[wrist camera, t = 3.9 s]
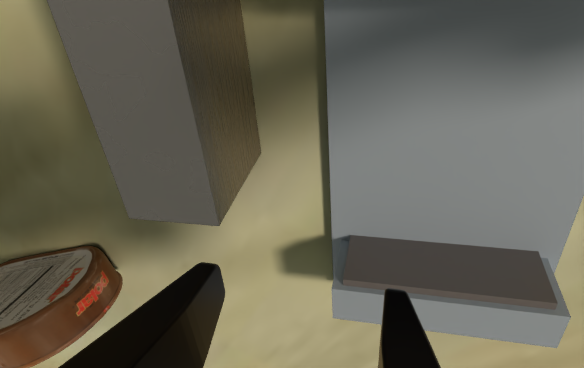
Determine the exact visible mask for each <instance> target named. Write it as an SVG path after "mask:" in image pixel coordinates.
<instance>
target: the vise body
mask: <svg viewBox="0 0 584 368" xmlns="http://www.w3.org/2000/svg"><path fill="white" fill-rule="evenodd" d="M324 17H325V47H326V76H327V106H328V135H329V165H330V194H331V224H332V253H333V285H332V308H333V318H336V319H344V320H351V321H359V322H366V323H374V324H381V325H382V314H383V303H384V292H385V289H387V288H392V289H400V290H405V291H406V292H407V293H408V295H409V297H410V300H411V302H412V304H413V306H414V309H415V311H416V313H417V315H418V318H419V320H420V322H421V324H422V327H423V329H424V330H426V331H433V332H441V333H448V334H456V335H463V336H470V337H478V338H485V339H493V340H500V341H508V342H515V343H523V344H530V345H538V346H545V347H552V348H557V347H558V345H559V342H560V340H561V338H562V336H563V333H564V331H565V329H566V327H567V325H568V322H569V320H570V318H571V316H570V314H569V311H568V309H567V306H566V304H565V301H564V299H563V296H562V293H561V291H560V288H559V286H558V283H557V281H556V278H555V276H554V272H555V270H556V267H557V264H558V262H559V259H560V256H561V254H562V251H563V249H564V246H565V243H566V241H567V238H568V235H569V233H570V230H571V227H572V225H573V222H574V220H575V217H576V214H577V212H578V209H579V206H580V204H581V201H582V198H583V196H584V0H324Z"/></svg>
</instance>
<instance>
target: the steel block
mask: <svg viewBox="0 0 584 368" xmlns="http://www.w3.org/2000/svg"><path fill="white" fill-rule="evenodd" d="M47 2H48V5H49V7H50V10H51V13H52V15H53V18H54V20H55V23H56V26H57V28H58V31H59V34H60V36H61V39H62V42H63V44H64V47H65V50H66V52H67V55H68V57H69V60H70V63H71V65H72V68H73V71H74V73H75V76H76V79H77V81H78V84H79V87H80V89H81V92H82V95H83V97H84V100H85V102H86V105H87V108H88V110H89V113H90V116H91V118H92V121H93V124H94V126H95V129H96V132H97V134H98V137H99V140H100V142H101V145H102V147H103V150H104V153H105V155H106V158H107V161H108V163H109V166H110V169H111V171H112V174H113V177H114V179H115V182H116V185H117V187H118V190H119V192H120V195H121V198H122V200H123V203H124V206H125V208H126V211H127V214H128V216H129V218H131V219H143V220H154V221H166V222H177V223H189V224H200V225H212V226H219V225H220V224H221V222H222V220H223V218H224V217H225V215H226V213H227V211H228V210H229V208H230V206H231V205H232V203H233V201H234V199H235V198H236V196H237V194H238V192H239V191H240V189H241V187H242V185H243V184H244V182H245V180H246V178H247V177H248V175H249V173H250V171H251V170H252V168H253V166H254V164H255V163H256V161H257V159H258V157H259V156H260V154H261V147H260V139H259V132H258V125H257V118H256V111H255V103H254V96H253V89H252V82H251V75H250V67H249V60H248V53H247V46H246V39H245V31H244V24H243V17H242V10H241V3H240V0H47Z"/></svg>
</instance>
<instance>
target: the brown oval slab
mask: <svg viewBox="0 0 584 368" xmlns="http://www.w3.org/2000/svg"><path fill="white" fill-rule="evenodd" d="M121 288H122V276H121V274H120V273H118V272H117V271H116V270H115V269H114V267H113V266H112V265H111V263H110V262H109V260H108V259H107V257H106V256H105V255H104V253H103V252H102V251H101V250H100V249H98V248H96V247H93V246H83V247H77V248H71V249H66V250H61V251H55V252H49V253H44V254H39V255H33V256H28V257H23V258H18V259H14V260H10V261H8V262H5V263H2V264H0V368H29V367H32V366H35V365H37V364H39V363H41V362H43V361H45V360H47V359H49V358H50V357H52V356H54V355H56V354H58V353H59V352H61V351H62V350H64V349H65V348H67V347H68V346H70V345H71V344H72V343H74V342H75V341H76V340H78V339H79V338H80V337H82V336H83V335H84V334H85V333H86V332H87V331H88V330H89V329H91V328H92V327H93V326H94V325H95V324H96V323H97V322H98V321H99V320H100V319H101V318H102V317H103V316H104V315H105V314H106V312H107V311H108V310H109V309H110V308H111V306H112V305H113V303H114V302H115V300H116V299H117V297H118V295H119V293H120V290H121Z"/></svg>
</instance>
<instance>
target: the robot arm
mask: <svg viewBox="0 0 584 368" xmlns="http://www.w3.org/2000/svg"><path fill="white" fill-rule="evenodd" d="M224 298H225V288H224V284H223V279H222V275H221V270H220V267H219V266H218V265H217V264H212V263H205V262H201V263H199V264H197V265H195V266H194V267H193V268H191V269H190V270H189V271H187V272H186V273H185V274H183V275H182V276H181V277H179V278H178V279H177V280H175V281H174V282H173V283H171V284H170V285H169V286H167V287H166V288H165V289H163V290H162V291H161V292H159V293H158V294H157V295H155V296H154V297H152V298H151V299H150V300H148V301H147V302H146V303H144V304H143V305H142V306H140V307H139V308H138V309H136V310H135V311H134V312H132V313H131V314H130V315H128V316H127V317H126V318H124V319H123V320H122V321H120V322H119V323H118V324H116V325H115V326H114V327H112V328H111V329H110V330H108V331H107V332H106V333H104V334H103V335H102V336H100V337H99V338H97V339H96V340H95V341H93V342H92V343H91V344H89V345H88V346H87V347H85V348H84V349H83V350H81V351H80V352H79V353H77V354H76V355H75V356H73V357H72V358H71V359H69V360H68V361H67V362H65V363H64V364H63V365H61V366H60V367H59V368H203V366H204V363H205V360H206V357H207V354H208V351H209V348H210V344H211V341H212V338H213V335H214V331H215V328H216V325H217V322H218V318H219V315H220V312H221V308H222V305H223V302H224ZM378 368H441V367H440V365H439V363H438V360H437V358H436V356H435V354H434V351H433V349H432V347H431V345H430V342H429V340H428V338H427V336H426V333H425V331H424V329H423V327H422V324H421V322H420V320H419V318H418V315H417V313H416V311H415V309H414V306H413V304H412V302H411V300H410V297H409V295H408V293H407V292H406V291H405V290H400V289H392V288H387V289H385V292H384V303H383V314H382V326H381V338H380V350H379V362H378Z"/></svg>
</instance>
